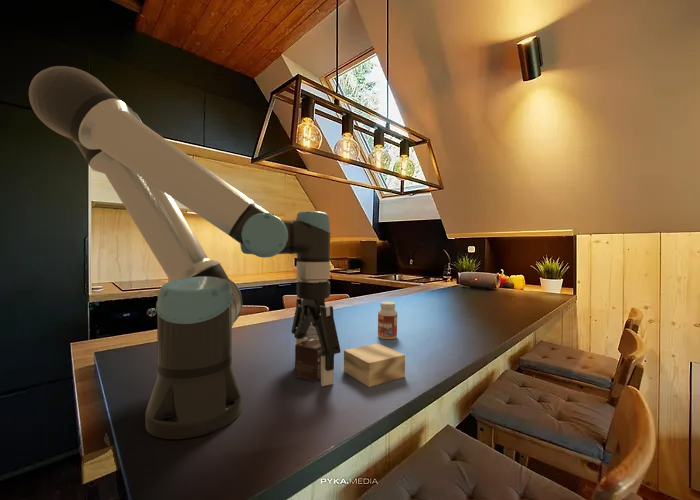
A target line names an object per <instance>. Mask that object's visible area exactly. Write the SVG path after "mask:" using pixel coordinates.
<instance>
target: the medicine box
mask: <svg viewBox="0 0 700 500" xmlns="http://www.w3.org/2000/svg"><path fill="white" fill-rule="evenodd" d="M307 335H308V336H306V338H307V340H309V339H316V340H319V338H318V335H317V331H316V328H315V327H314V326H313V325H312V322H311V324H310V326H309V328H308V331H307ZM303 338H305V337H303Z"/></svg>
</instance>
